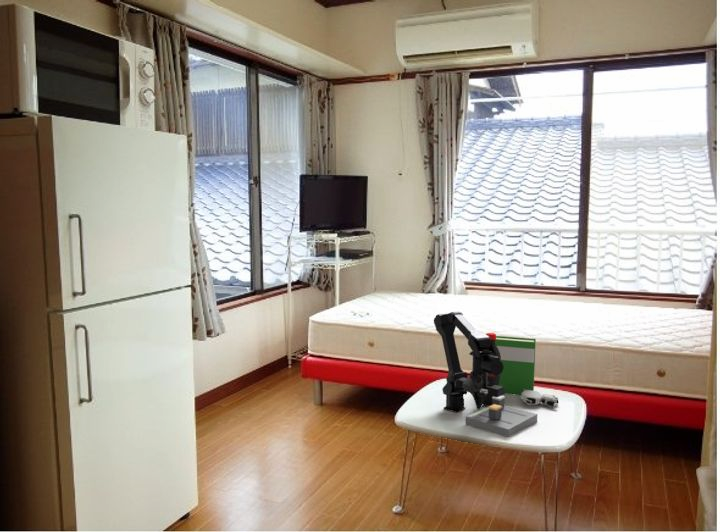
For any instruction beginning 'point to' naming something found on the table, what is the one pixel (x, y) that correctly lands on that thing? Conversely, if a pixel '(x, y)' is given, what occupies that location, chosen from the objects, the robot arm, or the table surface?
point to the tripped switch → (495, 412)
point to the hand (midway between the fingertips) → (478, 408)
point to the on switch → (498, 401)
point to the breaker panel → (502, 421)
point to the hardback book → (516, 363)
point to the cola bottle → (491, 378)
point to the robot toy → (538, 398)
